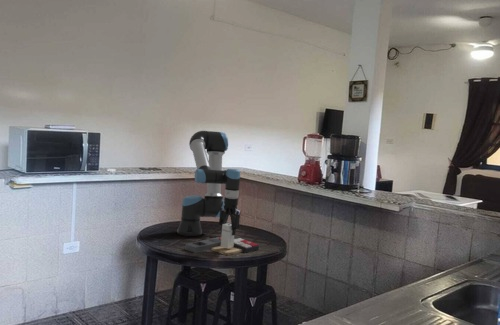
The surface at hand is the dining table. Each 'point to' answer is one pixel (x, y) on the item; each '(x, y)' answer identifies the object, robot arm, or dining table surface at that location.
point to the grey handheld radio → (203, 245)
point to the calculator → (245, 245)
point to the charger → (226, 236)
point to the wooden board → (226, 250)
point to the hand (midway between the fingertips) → (227, 239)
